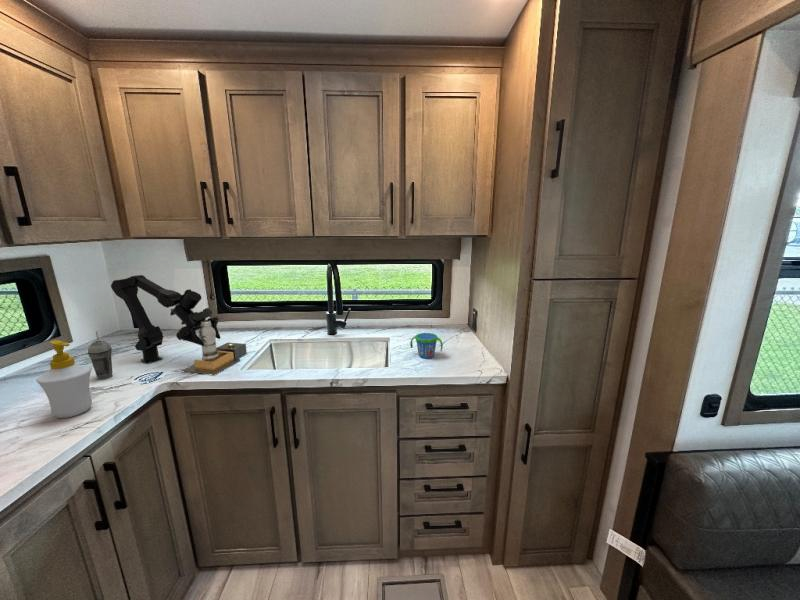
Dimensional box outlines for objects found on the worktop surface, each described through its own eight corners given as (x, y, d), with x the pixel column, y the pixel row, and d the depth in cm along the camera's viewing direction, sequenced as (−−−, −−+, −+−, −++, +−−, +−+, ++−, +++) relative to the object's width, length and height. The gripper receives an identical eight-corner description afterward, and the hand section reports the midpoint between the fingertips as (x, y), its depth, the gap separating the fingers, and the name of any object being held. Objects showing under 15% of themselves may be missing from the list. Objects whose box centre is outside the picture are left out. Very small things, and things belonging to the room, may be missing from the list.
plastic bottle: (221, 364, 144) (215, 321, 140) (203, 368, 140) (197, 324, 136) (219, 360, 149) (213, 318, 145) (202, 363, 145) (195, 320, 141)
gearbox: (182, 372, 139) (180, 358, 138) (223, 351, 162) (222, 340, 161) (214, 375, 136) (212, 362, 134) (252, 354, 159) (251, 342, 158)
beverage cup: (114, 371, 139) (106, 326, 135) (118, 376, 134) (109, 330, 130) (91, 377, 133) (81, 331, 129) (95, 383, 129) (85, 334, 124)
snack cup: (406, 357, 156) (407, 336, 154) (415, 350, 165) (415, 330, 163) (438, 362, 150) (438, 341, 148) (444, 355, 159) (445, 335, 157)
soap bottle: (59, 426, 100) (40, 351, 95) (37, 417, 105) (18, 345, 100) (107, 406, 112) (93, 337, 107) (86, 399, 117) (71, 333, 111)
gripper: (178, 308, 131) (205, 336, 131) (213, 299, 149) (236, 324, 149) (164, 326, 134) (190, 353, 134) (200, 315, 152) (223, 339, 152)
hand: (212, 341), depth 142 cm, fingers open, 9 cm apart
